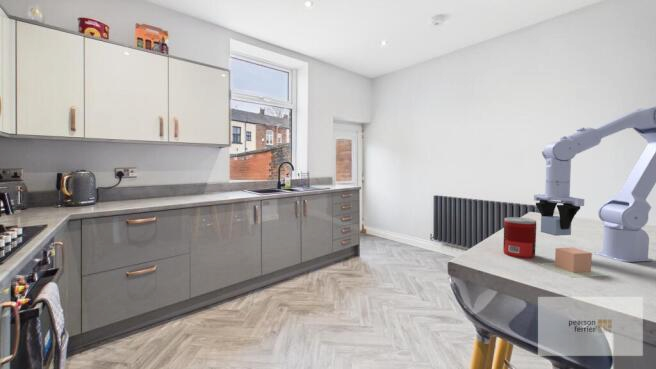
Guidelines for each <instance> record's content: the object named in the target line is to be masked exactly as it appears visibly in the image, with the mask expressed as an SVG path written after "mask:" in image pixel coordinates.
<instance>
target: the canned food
mask: <svg viewBox="0 0 656 369" xmlns="http://www.w3.org/2000/svg"><path fill="white" fill-rule="evenodd" d="M536 242H537V220H535V219H533V218H527V217H519V216H518V217H516V216H512V217H511V216H509V217H504V220H503V248H502V249H503V250H502V252H503V254H504V255H506V256H508V257H513V258H519V259H534V258H535V256H536V248H537V246H536V244H537V243H536Z"/></svg>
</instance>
